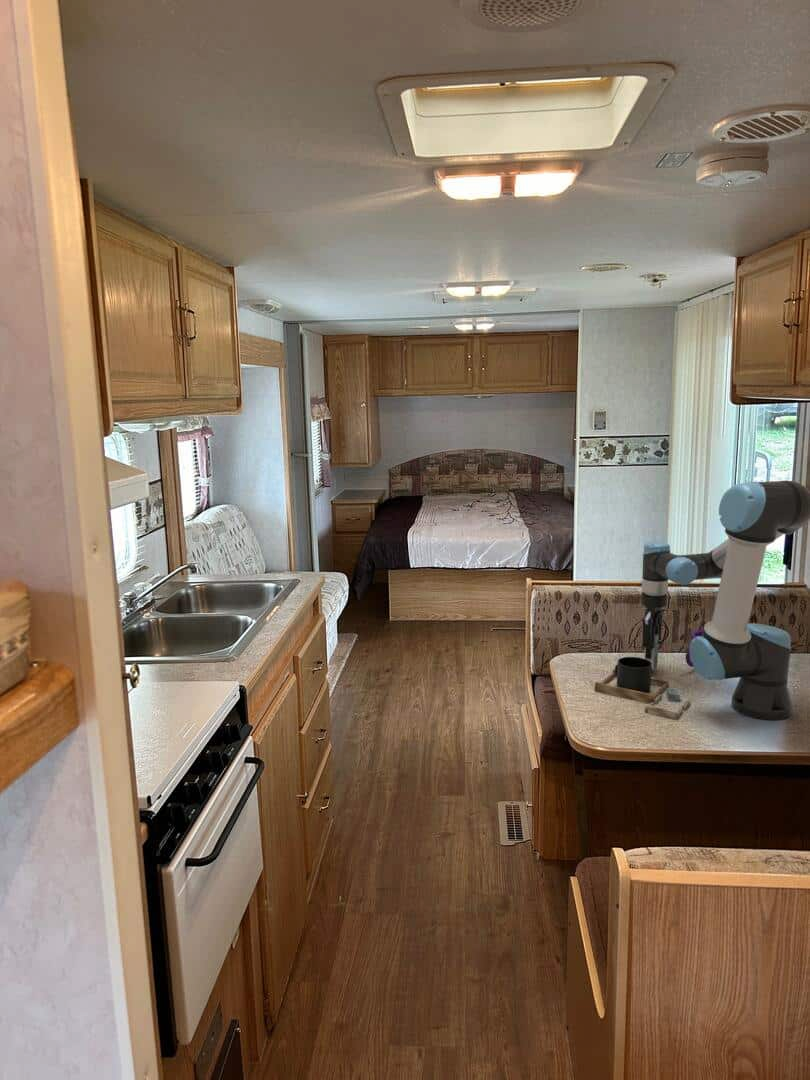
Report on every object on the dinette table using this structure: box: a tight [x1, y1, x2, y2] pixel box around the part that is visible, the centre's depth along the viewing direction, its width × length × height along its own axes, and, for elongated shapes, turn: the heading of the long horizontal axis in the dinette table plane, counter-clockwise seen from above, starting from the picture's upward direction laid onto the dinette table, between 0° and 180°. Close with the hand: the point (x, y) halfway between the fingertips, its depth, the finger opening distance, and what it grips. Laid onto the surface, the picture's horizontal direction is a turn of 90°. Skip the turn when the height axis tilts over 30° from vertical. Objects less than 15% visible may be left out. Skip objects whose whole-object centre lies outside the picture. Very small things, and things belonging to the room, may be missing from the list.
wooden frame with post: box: [594, 634, 670, 705], centre depth 229 cm, size 17×26×12 cm, turn 144°
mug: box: [614, 656, 652, 694], centre depth 224 cm, size 9×12×9 cm
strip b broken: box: [644, 687, 691, 721], centre depth 214 cm, size 9×17×2 cm, turn 144°
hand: (650, 665), depth 239 cm, fingers closed on wooden frame with post, 3 cm apart
